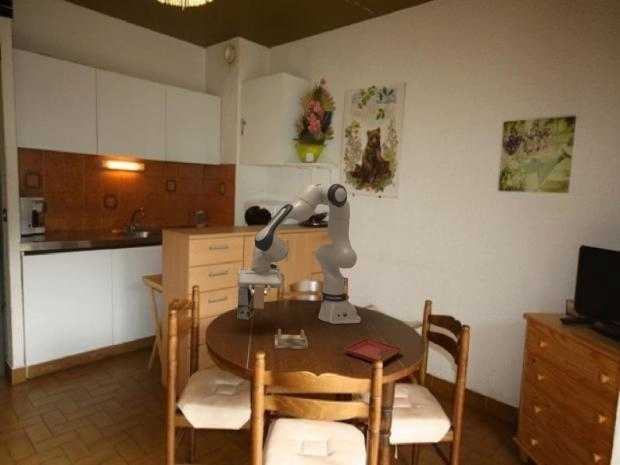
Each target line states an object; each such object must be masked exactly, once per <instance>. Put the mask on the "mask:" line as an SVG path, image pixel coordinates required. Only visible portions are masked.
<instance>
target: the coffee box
mask: <svg viewBox="0 0 620 465" xmlns="http://www.w3.org/2000/svg"><path fill="white" fill-rule="evenodd" d="M252 290H254V287H252ZM237 294H238V295H237V311H236V312H237V313H236V319H238V320H239V319H240V320H245V321H249V320H250V319H251V318H253V317H254V315H255V308H254V295H251V291H250V290H249V287H239V286H238V293H237Z"/></svg>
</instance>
